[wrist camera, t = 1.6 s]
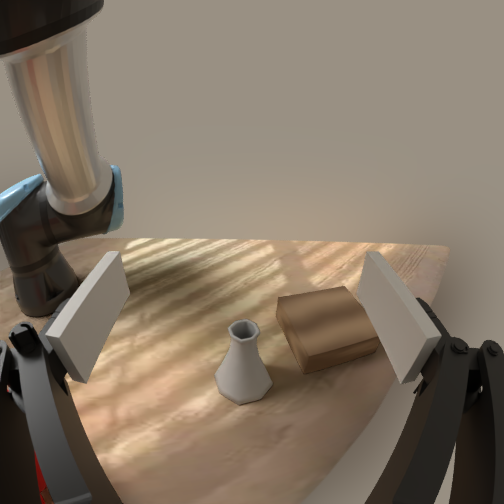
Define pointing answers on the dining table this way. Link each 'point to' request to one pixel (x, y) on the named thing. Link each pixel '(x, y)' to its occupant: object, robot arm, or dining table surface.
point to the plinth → (326, 328)
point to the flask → (243, 366)
